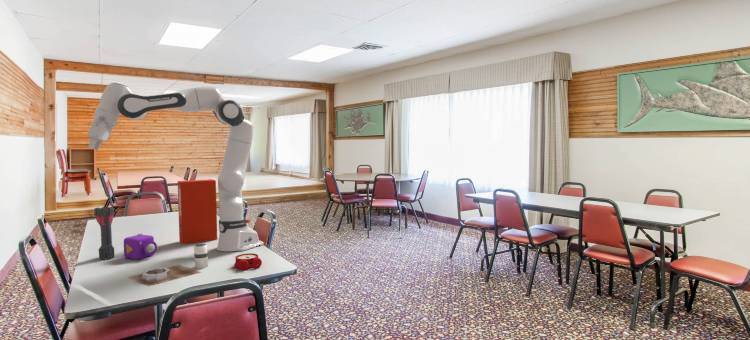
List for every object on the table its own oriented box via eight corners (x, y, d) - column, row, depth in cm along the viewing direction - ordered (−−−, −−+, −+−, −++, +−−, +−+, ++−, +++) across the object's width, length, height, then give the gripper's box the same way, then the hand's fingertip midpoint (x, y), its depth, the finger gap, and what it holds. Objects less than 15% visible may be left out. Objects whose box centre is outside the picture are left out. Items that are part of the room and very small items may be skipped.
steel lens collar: (162, 273, 163) (162, 266, 163) (173, 277, 158) (173, 270, 158) (139, 278, 156) (138, 272, 156) (150, 283, 151) (149, 276, 151)
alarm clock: (255, 252, 185) (264, 251, 172) (256, 266, 184) (265, 267, 171) (230, 255, 179) (238, 255, 167) (232, 270, 179) (239, 271, 166)
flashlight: (103, 255, 194) (101, 206, 193) (120, 255, 194) (117, 206, 193) (91, 259, 187) (89, 208, 185) (108, 259, 186) (106, 208, 185)
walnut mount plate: (179, 267, 174) (179, 264, 174) (201, 274, 164) (201, 272, 164) (127, 279, 159) (127, 277, 158) (148, 288, 148) (148, 286, 148)
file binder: (217, 239, 224) (215, 180, 222) (182, 244, 214) (180, 182, 212) (213, 237, 231) (211, 179, 229) (179, 241, 221) (177, 181, 219)
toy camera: (146, 261, 184) (145, 238, 183) (120, 259, 186) (119, 237, 186) (163, 254, 194) (163, 233, 194) (138, 253, 197) (137, 232, 196)
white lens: (203, 266, 175) (203, 242, 174) (210, 268, 172) (209, 244, 171) (192, 269, 171) (191, 245, 170) (198, 271, 168) (198, 247, 167)
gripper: (108, 118, 172) (95, 150, 170) (117, 123, 191) (106, 152, 189) (91, 112, 169) (78, 144, 168) (102, 118, 188) (90, 147, 186)
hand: (93, 148), depth 178 cm, fingers open, 8 cm apart
